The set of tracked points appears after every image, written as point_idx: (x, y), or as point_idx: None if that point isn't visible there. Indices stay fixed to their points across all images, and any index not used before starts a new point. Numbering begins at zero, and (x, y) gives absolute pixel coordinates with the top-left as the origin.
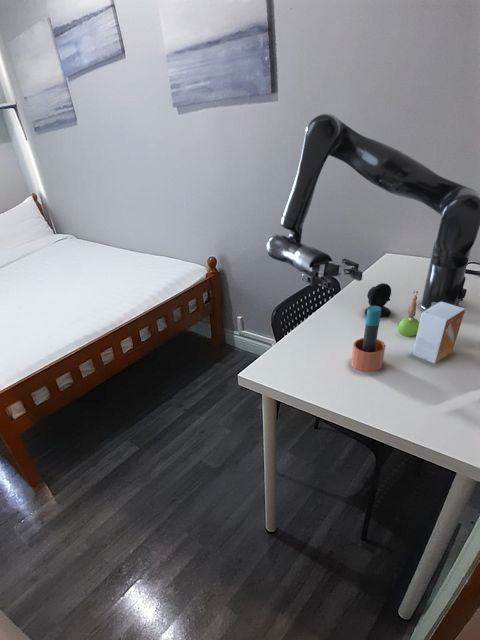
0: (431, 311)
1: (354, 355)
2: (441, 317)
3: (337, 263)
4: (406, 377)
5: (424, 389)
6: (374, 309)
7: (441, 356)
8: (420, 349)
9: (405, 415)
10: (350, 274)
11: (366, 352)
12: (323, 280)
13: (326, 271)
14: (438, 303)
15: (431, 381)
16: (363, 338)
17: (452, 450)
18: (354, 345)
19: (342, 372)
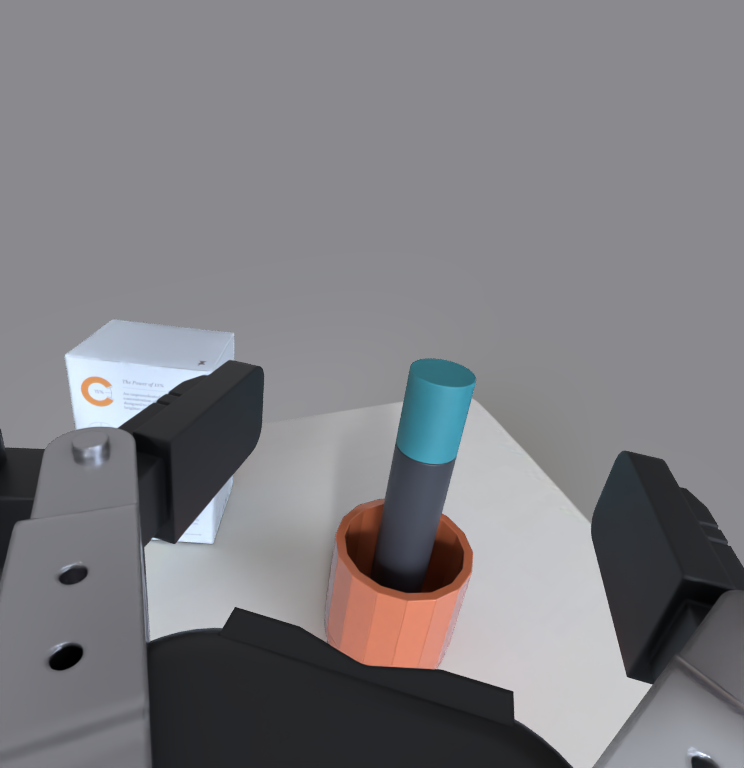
0: (187, 357)
1: (463, 598)
2: (222, 339)
3: (49, 663)
4: (343, 513)
5: (358, 471)
6: (450, 370)
7: None
8: (220, 492)
9: (475, 466)
10: (155, 529)
11: (455, 527)
12: (726, 556)
13: (523, 731)
14: (92, 356)
15: (314, 472)
16: (377, 585)
17: (473, 407)
18: (458, 583)
19: (497, 669)
